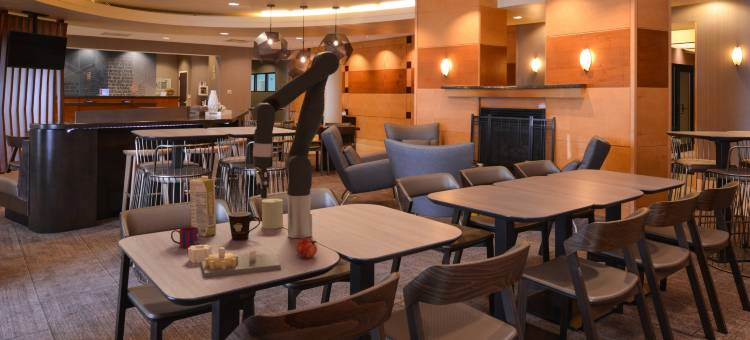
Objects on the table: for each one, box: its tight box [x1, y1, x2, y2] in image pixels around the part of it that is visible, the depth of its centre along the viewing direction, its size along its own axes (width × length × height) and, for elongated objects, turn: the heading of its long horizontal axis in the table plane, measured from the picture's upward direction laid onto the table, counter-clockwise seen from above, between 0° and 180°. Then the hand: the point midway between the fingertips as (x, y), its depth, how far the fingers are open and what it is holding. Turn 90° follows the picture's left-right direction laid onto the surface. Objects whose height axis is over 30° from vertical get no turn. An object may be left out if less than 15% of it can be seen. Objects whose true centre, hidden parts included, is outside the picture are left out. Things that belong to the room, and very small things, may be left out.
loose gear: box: [187, 244, 213, 264], centre depth 192 cm, size 8×6×4 cm
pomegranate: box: [295, 237, 318, 259], centre depth 195 cm, size 7×7×10 cm
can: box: [261, 198, 284, 230], centre depth 240 cm, size 9×9×12 cm
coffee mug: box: [228, 211, 261, 242], centre depth 219 cm, size 12×9×10 cm
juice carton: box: [189, 175, 217, 238], centre depth 225 cm, size 9×8×24 cm
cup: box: [170, 226, 200, 250], centre depth 209 cm, size 7×10×7 cm
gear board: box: [200, 246, 282, 278], centre depth 184 cm, size 24×14×7 cm, turn 111°
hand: (261, 196), depth 216 cm, fingers open, 8 cm apart
